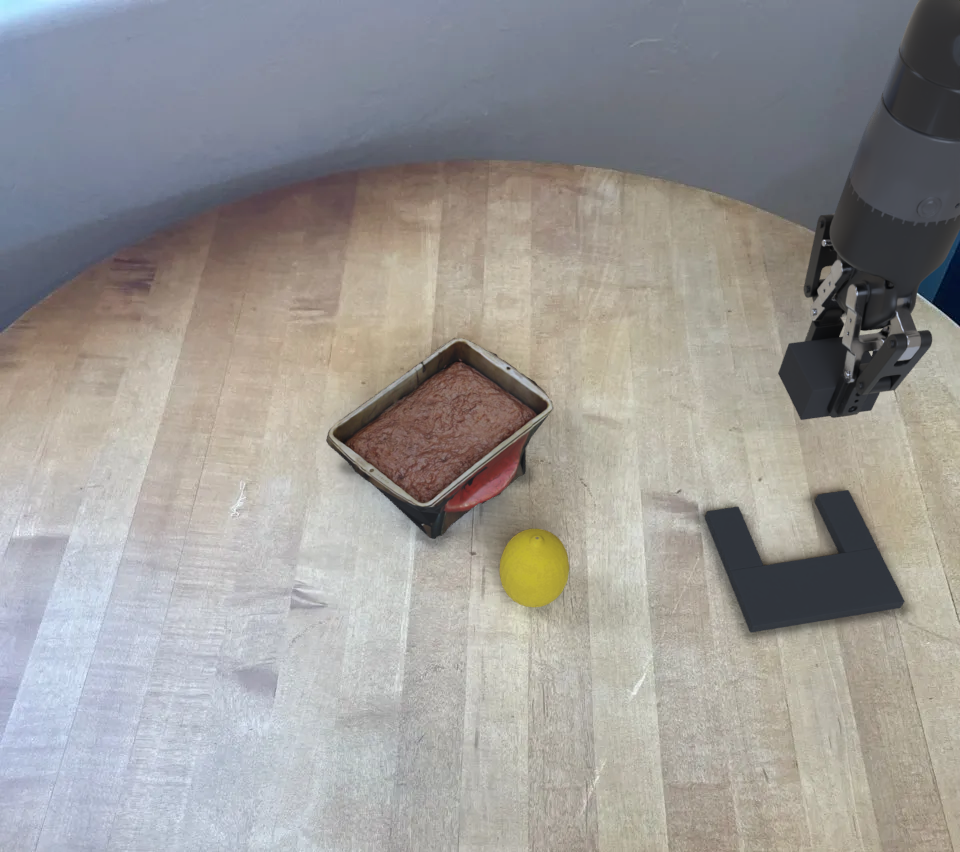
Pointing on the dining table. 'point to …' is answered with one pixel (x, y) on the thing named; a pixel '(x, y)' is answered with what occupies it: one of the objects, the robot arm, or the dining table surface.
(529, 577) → the lemon
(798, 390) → the black block
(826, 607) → the charcoal pad
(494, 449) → the baking dish
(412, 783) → the dining table surface
